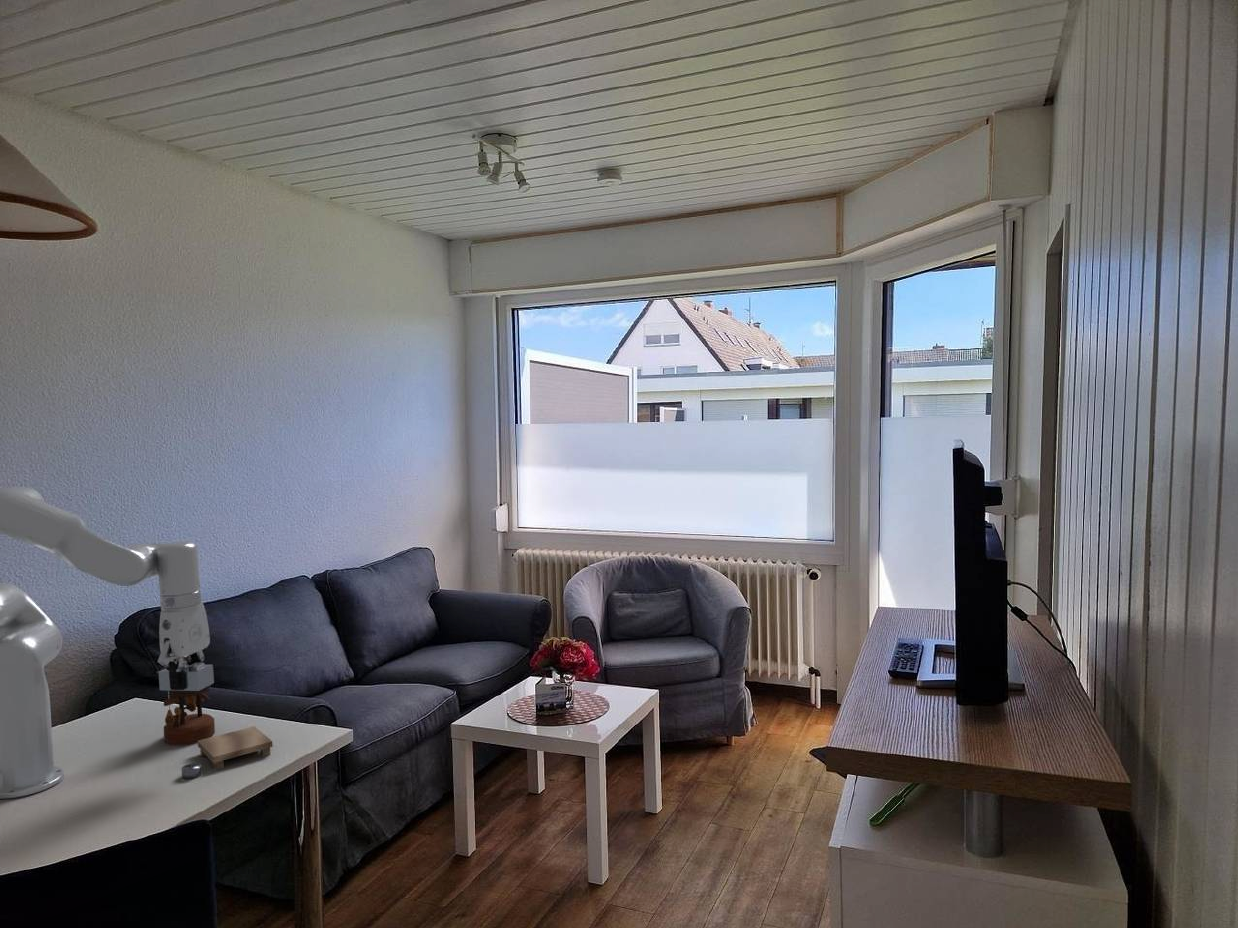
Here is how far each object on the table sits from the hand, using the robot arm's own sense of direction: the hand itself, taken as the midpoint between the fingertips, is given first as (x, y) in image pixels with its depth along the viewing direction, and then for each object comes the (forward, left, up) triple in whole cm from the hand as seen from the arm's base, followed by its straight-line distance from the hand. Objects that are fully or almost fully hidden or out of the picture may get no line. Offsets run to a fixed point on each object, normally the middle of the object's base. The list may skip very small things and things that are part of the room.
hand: (187, 683), depth 171 cm
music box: (+5, +18, -18) cm, 26 cm away
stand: (+9, -1, -18) cm, 20 cm away
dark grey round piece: (-1, -6, -18) cm, 19 cm away
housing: (0, 0, -1) cm, 1 cm away
